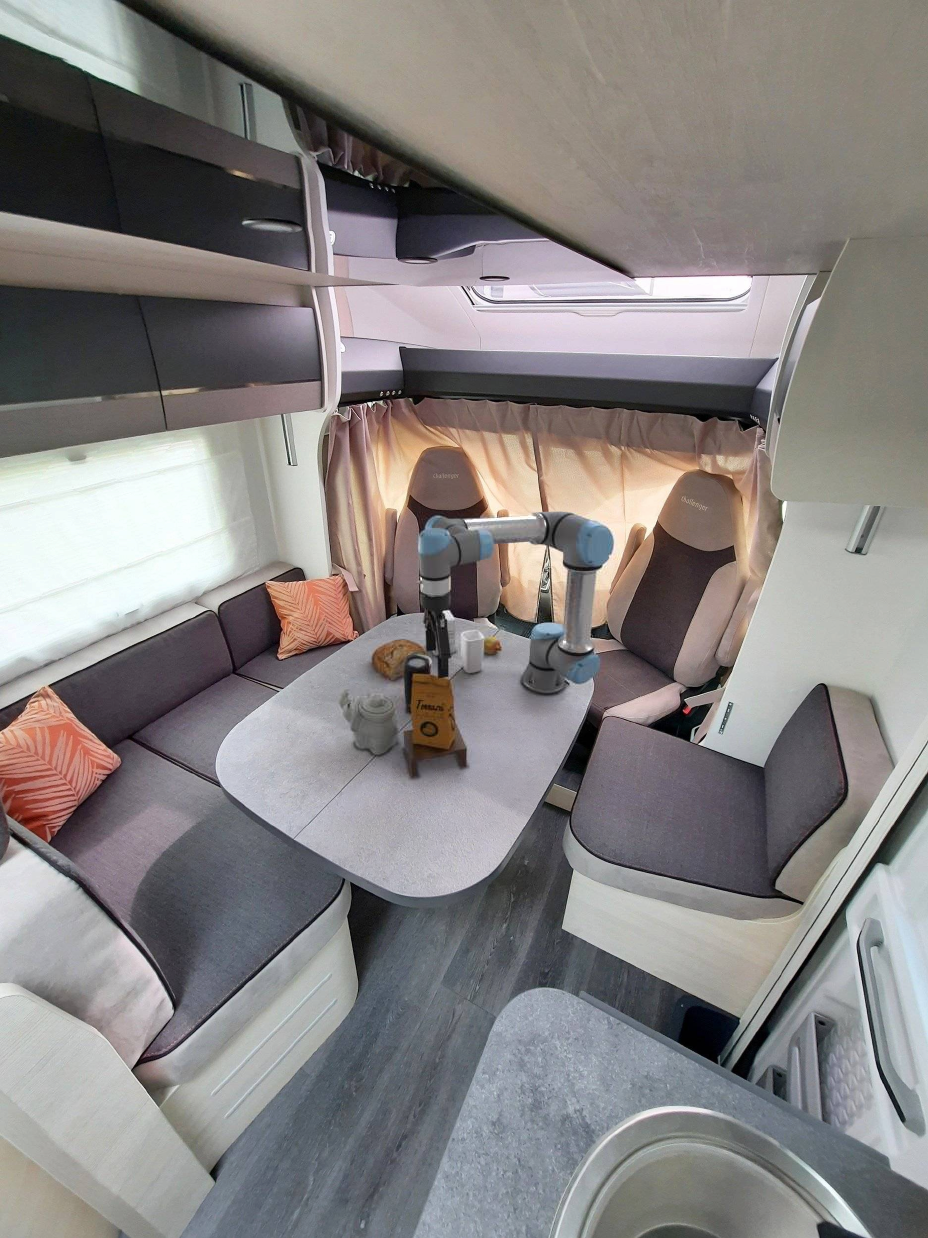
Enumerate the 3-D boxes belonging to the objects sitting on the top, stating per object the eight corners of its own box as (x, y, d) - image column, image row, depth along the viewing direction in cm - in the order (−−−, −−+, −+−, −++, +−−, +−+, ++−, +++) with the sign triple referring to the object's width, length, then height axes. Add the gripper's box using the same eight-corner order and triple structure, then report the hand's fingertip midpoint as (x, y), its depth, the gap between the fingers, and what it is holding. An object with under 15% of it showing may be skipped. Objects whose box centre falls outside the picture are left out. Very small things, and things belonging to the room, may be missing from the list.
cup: (484, 672, 191) (485, 638, 184) (466, 676, 189) (467, 641, 182) (476, 662, 197) (477, 629, 190) (459, 666, 195) (459, 632, 188)
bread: (389, 684, 183) (388, 660, 179) (363, 663, 196) (361, 640, 191) (434, 664, 195) (434, 642, 191) (407, 645, 208) (406, 624, 203)
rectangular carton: (428, 644, 209) (427, 612, 202) (449, 641, 211) (449, 609, 204) (433, 656, 201) (433, 622, 194) (455, 652, 203) (456, 619, 197)
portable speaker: (412, 722, 165) (409, 671, 156) (401, 706, 172) (398, 657, 163) (436, 714, 168) (435, 664, 159) (424, 699, 176) (422, 650, 166)
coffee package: (449, 756, 141) (449, 690, 131) (407, 746, 144) (404, 681, 134) (460, 733, 150) (460, 670, 139) (420, 724, 153) (418, 662, 143)
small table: (455, 740, 157) (455, 722, 154) (466, 767, 147) (466, 748, 144) (404, 749, 153) (403, 731, 150) (411, 777, 143) (411, 758, 140)
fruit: (475, 639, 202) (494, 647, 196) (486, 629, 206) (505, 637, 199) (477, 652, 206) (496, 660, 200) (488, 642, 210) (507, 650, 204)
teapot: (341, 731, 160) (335, 681, 152) (388, 719, 166) (385, 670, 157) (353, 765, 147) (347, 713, 138) (403, 751, 152) (401, 700, 144)
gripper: (410, 574, 137) (413, 642, 147) (432, 615, 115) (434, 691, 125) (437, 571, 139) (439, 638, 148) (463, 611, 117) (463, 686, 127)
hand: (436, 663), depth 137 cm, fingers open, 13 cm apart
